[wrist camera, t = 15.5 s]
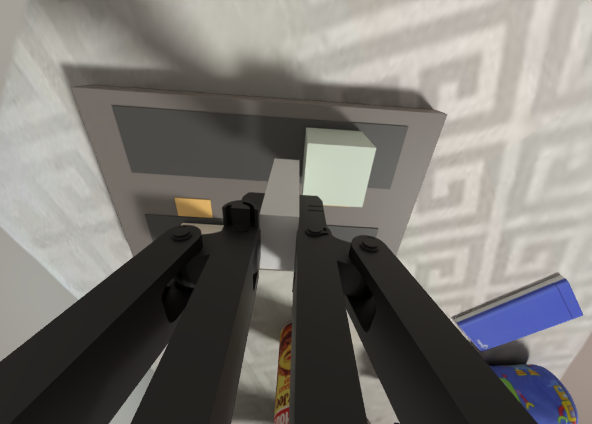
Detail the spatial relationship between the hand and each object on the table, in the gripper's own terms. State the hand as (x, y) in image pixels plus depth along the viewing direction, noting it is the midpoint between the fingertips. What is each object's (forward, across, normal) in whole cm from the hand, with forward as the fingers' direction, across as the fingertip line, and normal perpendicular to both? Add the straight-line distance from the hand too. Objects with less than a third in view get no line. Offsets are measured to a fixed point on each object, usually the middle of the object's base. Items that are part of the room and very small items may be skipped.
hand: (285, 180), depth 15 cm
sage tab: (+4, -3, 0) cm, 5 cm away
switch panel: (+6, +2, +4) cm, 8 cm away
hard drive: (+7, -30, +19) cm, 36 cm away
